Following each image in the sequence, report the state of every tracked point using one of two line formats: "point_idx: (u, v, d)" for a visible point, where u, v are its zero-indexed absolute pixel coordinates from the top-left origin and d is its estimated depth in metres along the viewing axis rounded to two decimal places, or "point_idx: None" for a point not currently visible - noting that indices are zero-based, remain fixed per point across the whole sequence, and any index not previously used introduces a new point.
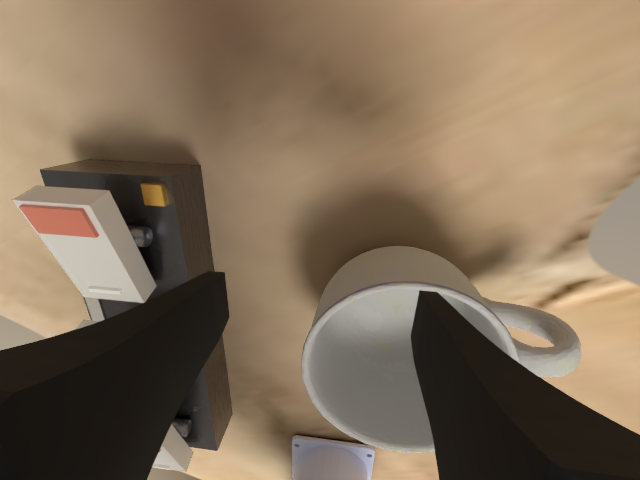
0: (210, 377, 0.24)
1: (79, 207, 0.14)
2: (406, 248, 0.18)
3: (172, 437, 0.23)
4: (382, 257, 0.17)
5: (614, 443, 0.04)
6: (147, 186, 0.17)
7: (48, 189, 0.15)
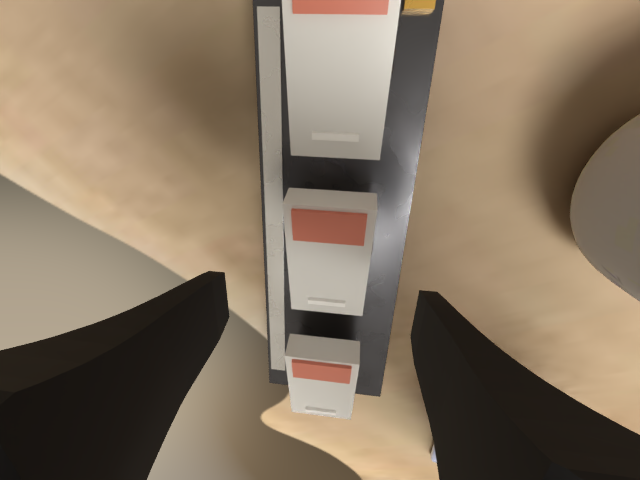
0: None
1: None
2: None
3: None
4: None
5: (614, 444, 0.04)
6: None
7: None
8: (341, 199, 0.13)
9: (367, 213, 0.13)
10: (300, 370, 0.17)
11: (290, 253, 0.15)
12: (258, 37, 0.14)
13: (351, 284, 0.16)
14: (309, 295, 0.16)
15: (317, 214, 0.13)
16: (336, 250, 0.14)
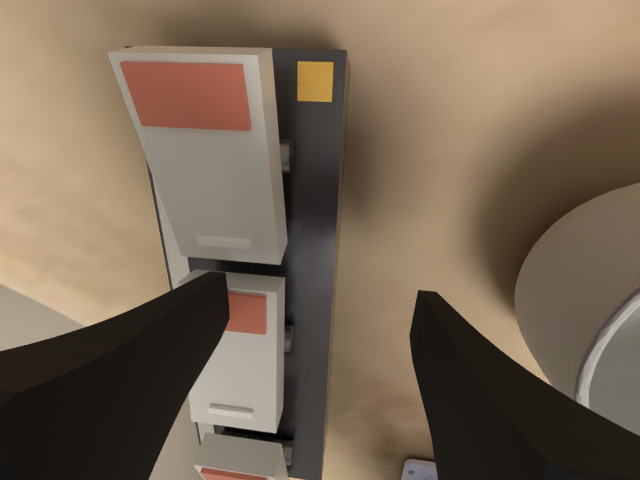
0: None
1: (235, 62, 0.08)
2: None
3: (282, 468, 0.16)
4: None
5: (612, 443, 0.04)
6: (309, 64, 0.10)
7: (163, 47, 0.09)
8: (243, 281, 0.12)
9: (266, 296, 0.12)
10: (212, 478, 0.15)
11: None
12: None
13: (258, 386, 0.13)
14: (211, 401, 0.14)
15: None
16: (237, 340, 0.12)
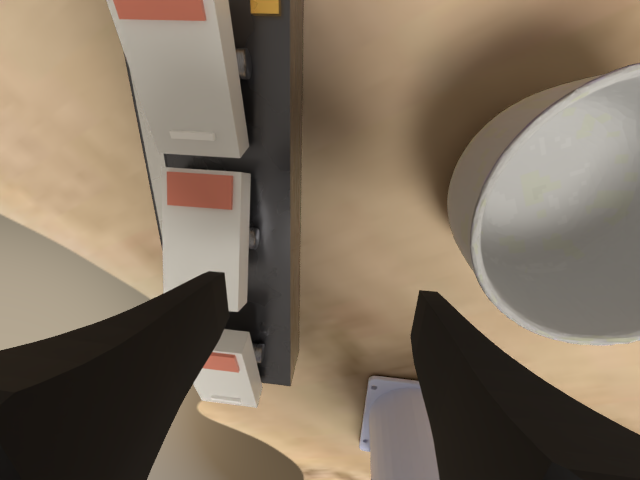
0: (292, 289, 0.20)
1: None
2: None
3: (251, 357, 0.19)
4: None
5: (614, 444, 0.04)
6: None
7: None
8: None
9: (232, 176, 0.15)
10: None
11: (166, 224, 0.15)
12: None
13: (223, 264, 0.15)
14: (182, 282, 0.16)
15: (189, 174, 0.15)
16: (208, 219, 0.15)
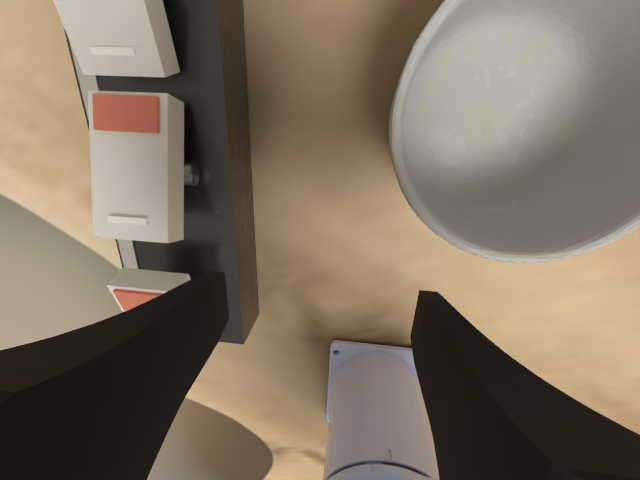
0: (240, 237, 0.19)
1: None
2: None
3: None
4: None
5: (614, 443, 0.04)
6: None
7: None
8: None
9: (159, 98, 0.14)
10: (125, 301, 0.17)
11: (94, 151, 0.15)
12: None
13: (152, 192, 0.15)
14: (111, 212, 0.15)
15: (114, 96, 0.14)
16: (135, 144, 0.15)
